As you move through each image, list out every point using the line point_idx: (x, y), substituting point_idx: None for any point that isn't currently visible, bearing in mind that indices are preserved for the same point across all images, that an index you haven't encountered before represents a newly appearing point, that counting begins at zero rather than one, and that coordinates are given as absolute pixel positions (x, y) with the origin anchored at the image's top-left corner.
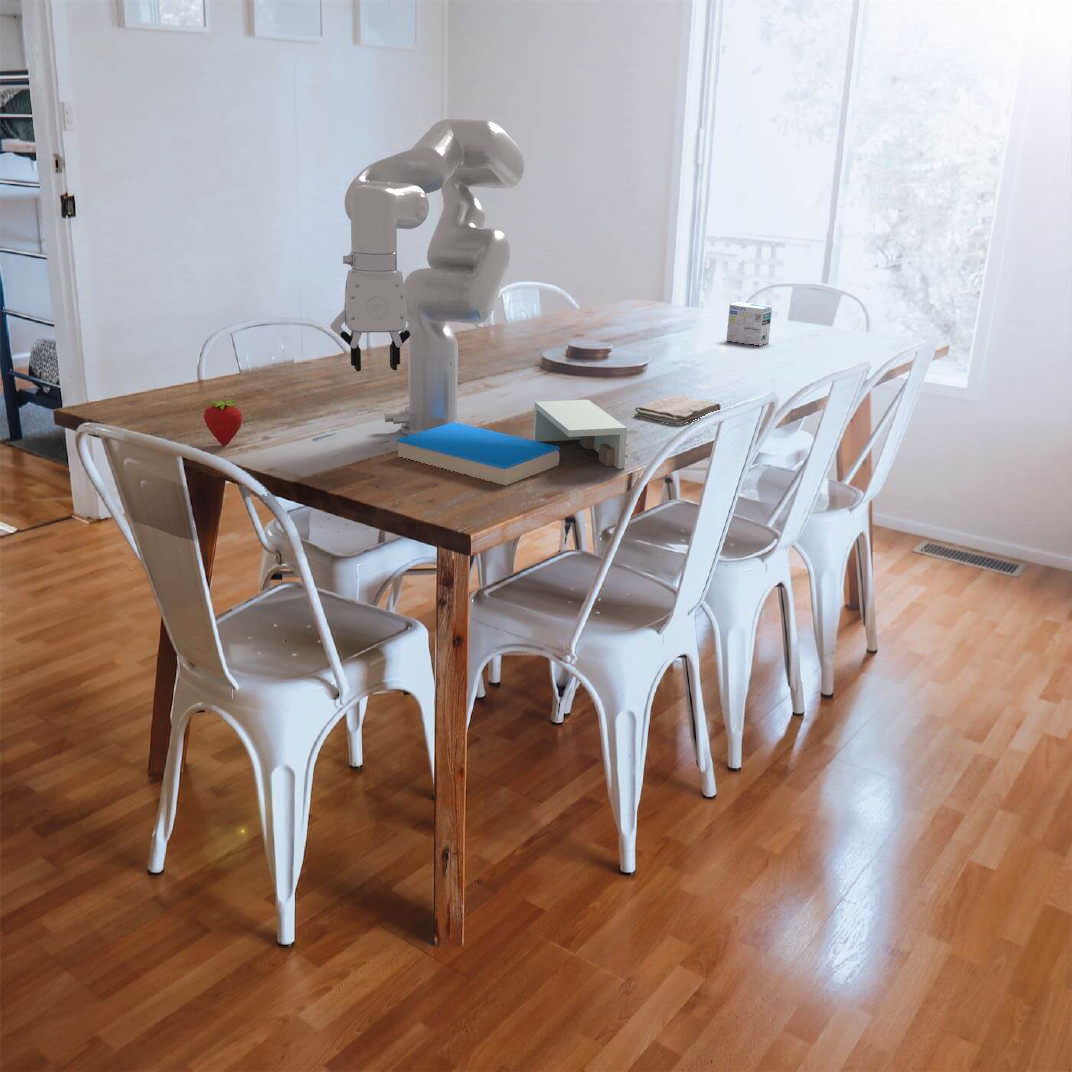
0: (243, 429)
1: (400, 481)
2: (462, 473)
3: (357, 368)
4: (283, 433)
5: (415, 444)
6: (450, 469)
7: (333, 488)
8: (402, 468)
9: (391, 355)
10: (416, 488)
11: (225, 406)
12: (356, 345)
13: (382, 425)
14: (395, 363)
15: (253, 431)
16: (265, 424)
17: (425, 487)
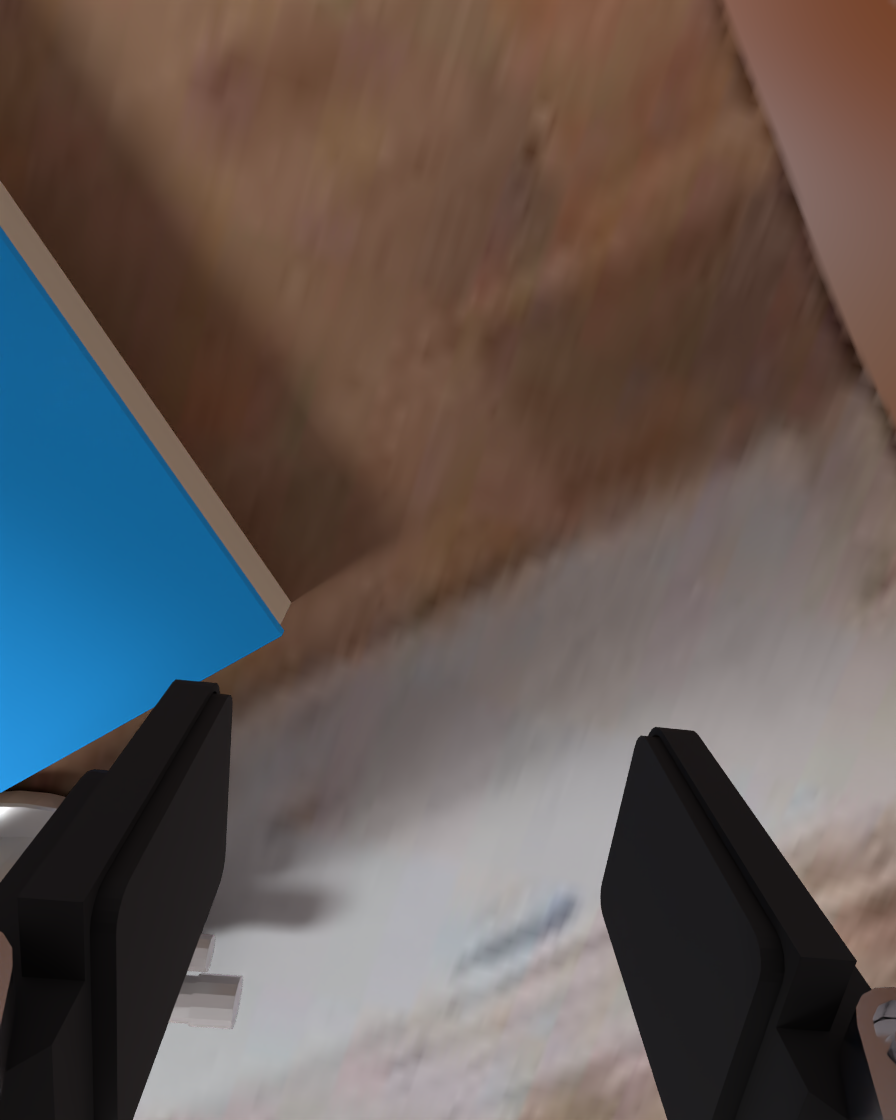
0: None
1: (387, 214)
2: (34, 232)
3: (699, 739)
4: None
5: (205, 523)
6: (85, 308)
7: (734, 212)
8: (319, 424)
9: (174, 893)
10: (340, 58)
11: None
12: (872, 1047)
13: (242, 1024)
14: (169, 721)
15: None
16: None
17: (289, 59)
